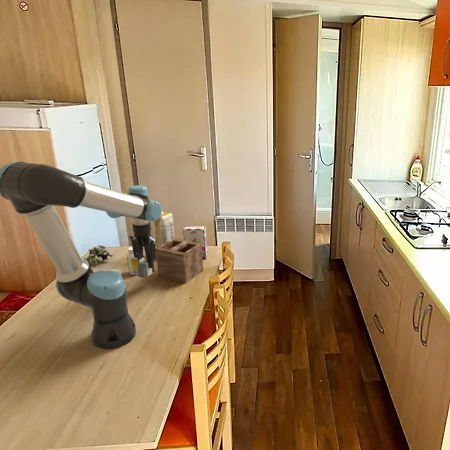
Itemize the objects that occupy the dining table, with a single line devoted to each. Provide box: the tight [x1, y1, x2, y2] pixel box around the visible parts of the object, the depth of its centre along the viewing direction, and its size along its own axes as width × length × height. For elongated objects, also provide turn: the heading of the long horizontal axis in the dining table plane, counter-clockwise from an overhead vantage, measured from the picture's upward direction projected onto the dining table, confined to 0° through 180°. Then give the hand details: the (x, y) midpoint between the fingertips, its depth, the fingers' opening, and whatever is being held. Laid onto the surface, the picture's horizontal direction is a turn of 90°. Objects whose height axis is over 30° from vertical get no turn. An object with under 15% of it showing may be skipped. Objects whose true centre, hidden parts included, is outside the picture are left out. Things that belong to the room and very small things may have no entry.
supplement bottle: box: [126, 246, 139, 276], centre depth 176 cm, size 7×7×13 cm
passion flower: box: [84, 245, 113, 267], centre depth 188 cm, size 11×11×12 cm
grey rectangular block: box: [137, 258, 156, 279], centre depth 161 cm, size 7×3×6 cm, turn 149°
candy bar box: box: [182, 225, 209, 259], centre depth 190 cm, size 11×5×16 cm, turn 81°
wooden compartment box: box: [155, 237, 204, 284], centre depth 173 cm, size 14×16×14 cm
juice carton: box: [152, 210, 175, 248], centre depth 193 cm, size 9×8×24 cm
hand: (146, 273), depth 162 cm, fingers closed on grey rectangular block, 3 cm apart
